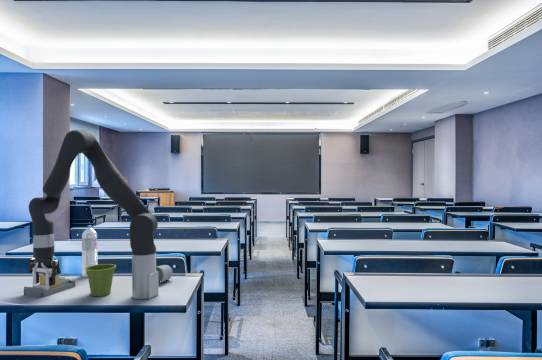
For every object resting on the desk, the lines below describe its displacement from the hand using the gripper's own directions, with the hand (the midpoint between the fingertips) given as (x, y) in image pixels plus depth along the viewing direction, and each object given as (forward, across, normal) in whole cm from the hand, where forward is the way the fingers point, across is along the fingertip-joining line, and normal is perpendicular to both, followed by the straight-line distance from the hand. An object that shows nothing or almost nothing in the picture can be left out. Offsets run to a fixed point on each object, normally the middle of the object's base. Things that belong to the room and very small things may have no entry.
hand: (44, 284), depth 154 cm
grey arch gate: (+3, 0, -2) cm, 3 cm away
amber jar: (+3, 0, +2) cm, 4 cm away
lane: (+4, 0, +3) cm, 5 cm away
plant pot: (+4, +23, +7) cm, 24 cm away
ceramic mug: (+4, +34, +30) cm, 46 cm away
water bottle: (+4, -3, +28) cm, 28 cm away
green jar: (+3, 0, +7) cm, 8 cm away
